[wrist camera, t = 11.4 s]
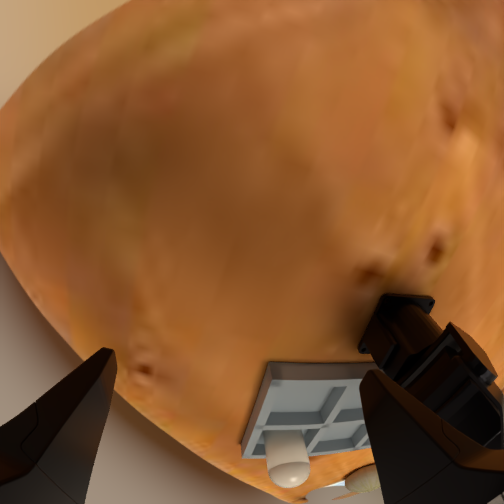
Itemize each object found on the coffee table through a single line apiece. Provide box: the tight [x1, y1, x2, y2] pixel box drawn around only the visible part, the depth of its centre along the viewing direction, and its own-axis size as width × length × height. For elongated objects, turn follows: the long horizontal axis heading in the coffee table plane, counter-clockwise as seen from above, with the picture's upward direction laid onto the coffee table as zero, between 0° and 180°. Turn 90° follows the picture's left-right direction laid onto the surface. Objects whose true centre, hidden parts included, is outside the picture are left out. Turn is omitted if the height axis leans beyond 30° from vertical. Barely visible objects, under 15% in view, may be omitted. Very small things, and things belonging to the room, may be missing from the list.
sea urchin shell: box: [345, 464, 381, 493], centre depth 40 cm, size 9×8×8 cm
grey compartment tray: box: [241, 362, 384, 458], centre depth 29 cm, size 24×16×2 cm
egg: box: [263, 429, 310, 488], centre depth 26 cm, size 5×5×8 cm
